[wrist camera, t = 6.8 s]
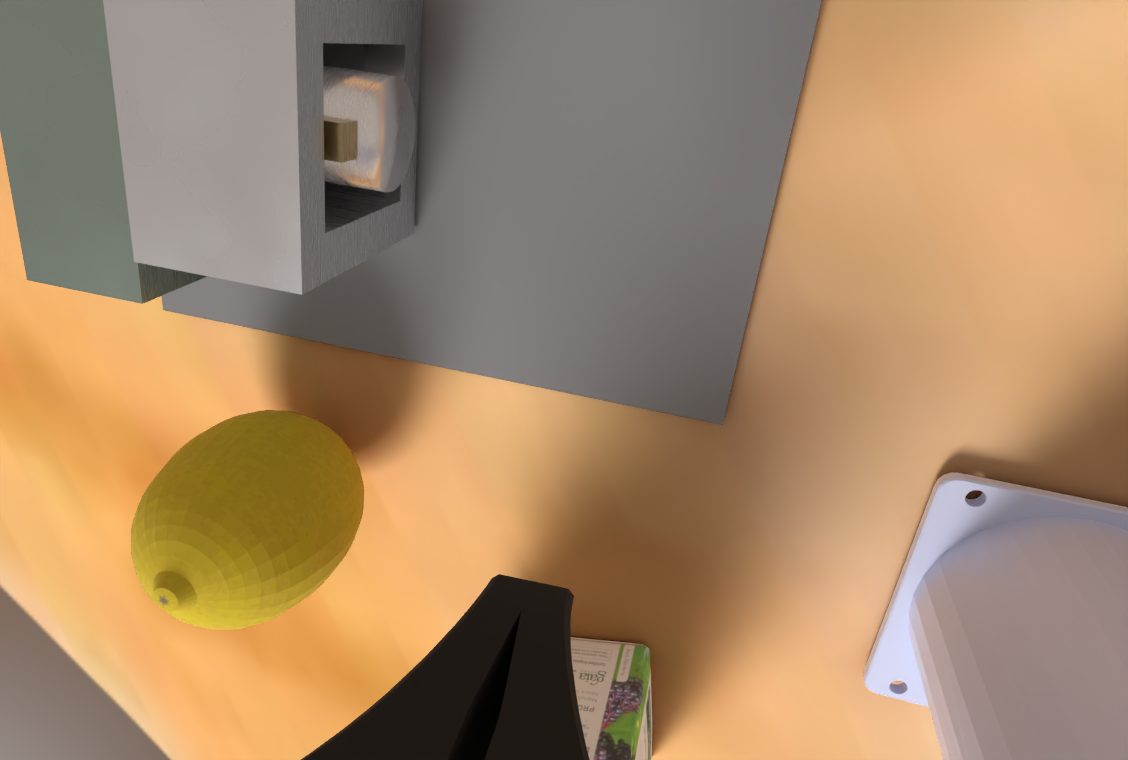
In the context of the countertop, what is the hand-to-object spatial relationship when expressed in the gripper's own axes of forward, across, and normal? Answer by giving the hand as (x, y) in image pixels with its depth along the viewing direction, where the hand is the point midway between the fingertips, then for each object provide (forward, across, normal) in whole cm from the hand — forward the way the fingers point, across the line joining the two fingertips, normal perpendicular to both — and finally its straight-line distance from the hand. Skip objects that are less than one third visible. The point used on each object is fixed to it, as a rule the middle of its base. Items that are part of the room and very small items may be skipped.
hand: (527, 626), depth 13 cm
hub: (+11, +8, -6) cm, 15 cm away
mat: (+11, +5, -6) cm, 14 cm away
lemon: (+11, +9, +5) cm, 15 cm away
